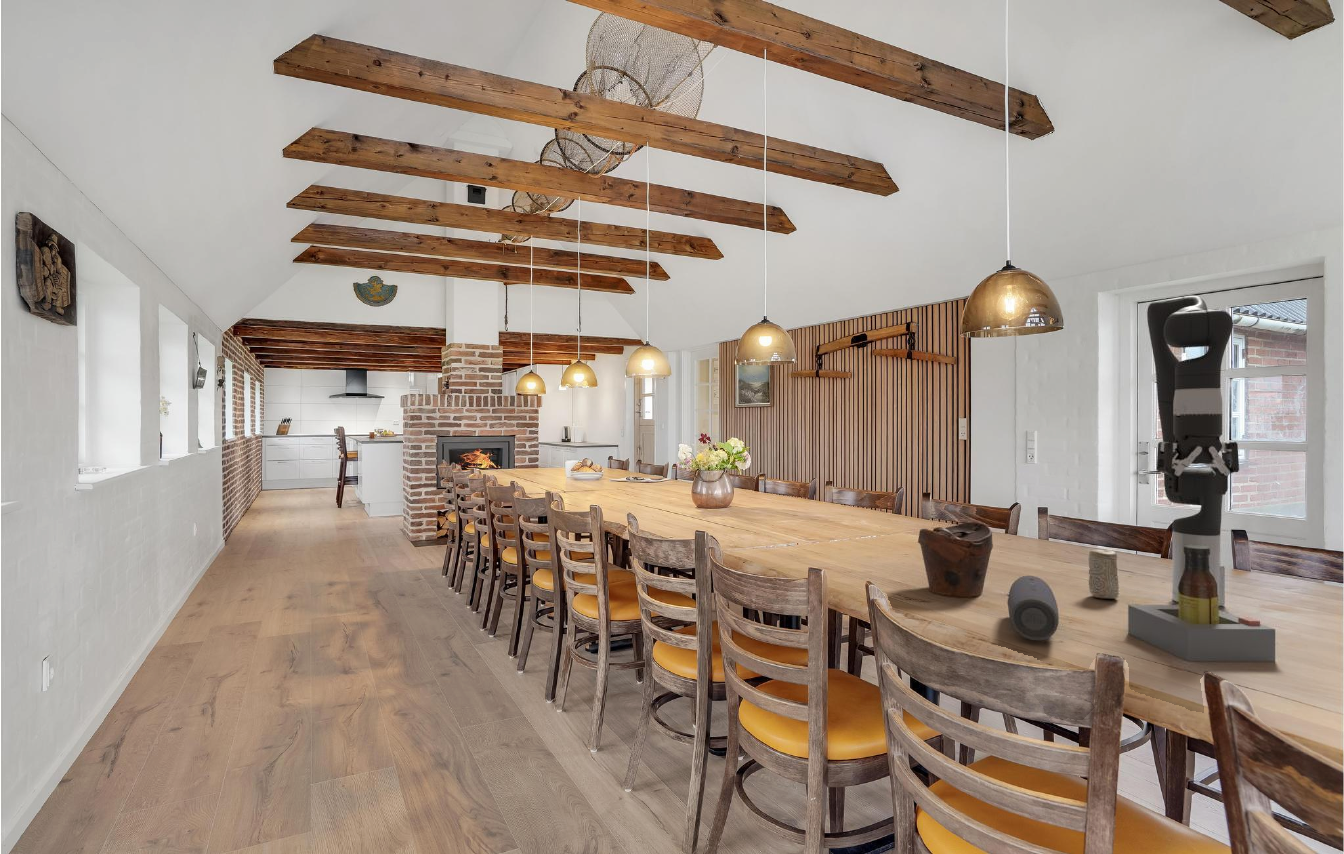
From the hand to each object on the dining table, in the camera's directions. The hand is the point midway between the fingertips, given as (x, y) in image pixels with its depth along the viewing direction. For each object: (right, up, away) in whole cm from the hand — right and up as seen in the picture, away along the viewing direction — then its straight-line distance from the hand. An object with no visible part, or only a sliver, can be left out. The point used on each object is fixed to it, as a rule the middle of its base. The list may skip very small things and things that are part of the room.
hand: (1197, 494), depth 128 cm
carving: (+5, -30, +36) cm, 47 cm away
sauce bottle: (0, -30, 0) cm, 30 cm away
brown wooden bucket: (-29, -30, +43) cm, 60 cm away
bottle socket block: (0, -30, 0) cm, 30 cm away
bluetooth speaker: (-27, -30, +10) cm, 42 cm away
